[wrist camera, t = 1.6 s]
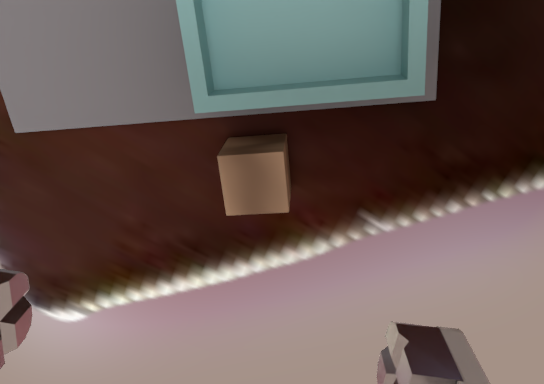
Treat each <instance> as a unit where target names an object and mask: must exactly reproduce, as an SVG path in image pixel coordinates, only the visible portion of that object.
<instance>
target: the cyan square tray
mask: <svg viewBox="0 0 544 384" xmlns="http://www.w3.org/2000/svg"><path fill="white" fill-rule="evenodd" d="M176 4H177V10H178V16H179V22H180V28H181V34H182V40H183V46H184V52H185V58H186V64H187V70H188V76H189V82H190V88H191V94H192V99H193V105H194V111H195V113H207V112H219V111H232V110H244V109H257V108H269V107H282V106H295V105H307V104H320V103H332V102H345V101H357V100H370V99H383V98H395V97H408V96H420V95H425V72H426V47H427V22H428V0H176Z"/></svg>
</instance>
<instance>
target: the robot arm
mask: <svg viewBox="0 0 544 384" xmlns="http://www.w3.org/2000/svg"><path fill="white" fill-rule="evenodd" d="M29 289H30V288H29V282H28V276H27V275H25V274H24V273H23V272H17V271H11V270H4V269H0V369H1V368H2V366H3V365H4V364H5V359H4V355H5V354H7V353H9V352H11V351H13V350H15V349H17V348H18V347H19V346H20V344H21V343H22V342H23V340H24V339H25V338H26V335H27V333H28V331H29V328H30V326H31V320H32V307H31V304H30V303H29V302H28V301H27V300H26V298H25V297H24V295H25V294H26V293H27V291H28V290H29ZM385 337H386V340H387V344H388V346H387V347H386V348H385V349H384V350H382V351H381V353H380V357H379V361H378V369H377V383H378V384H490V382H489V380H488V378H487V377H486V375H485V373H484V371H483V369H482V367H481V365H480V364H479V362H478V360H477V358H476V356H475V354H474V352H473V350H472V348H471V347H470V345H469V343H468V341H467V339H466V337H465V335H464V333H463V332H462V331H461V330H459V329H455V328H445V327H429V326H421V325H414V324H406V323H398V322H391V323H390V324H389V326H388V329H387V332H386V335H385Z"/></svg>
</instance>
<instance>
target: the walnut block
mask: <svg viewBox="0 0 544 384" xmlns="http://www.w3.org/2000/svg"><path fill="white" fill-rule="evenodd" d="M217 159H218V165H219V172H220V178H221V184H222V191H223V197H224V204H225V210H226V216H230V215H248V214H267V213H286V212H289V206H290V196H291V179H290V167H289V156H288V145H287V133H284V134H271V135H257V136H244V137H230V138H228V139H227V141H226V142H225V144H224V146H223V147H222V149H221V151H220V152H219V154H218V156H217Z"/></svg>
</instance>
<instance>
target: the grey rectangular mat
mask: <svg viewBox="0 0 544 384" xmlns="http://www.w3.org/2000/svg"><path fill="white" fill-rule="evenodd" d="M440 9H441V0H428V22H427V47H426V72H425V95H420V96H408V97H395V98H383V99H370V100H357V101H345V102H332V103H320V104H307V105H295V106H282V107H269V108H257V109H244V110H232V111H219V112H207V113H195V111H194V105H193V99H192V94H191V88H190V82H189V76H188V70H187V64H186V58H185V52H184V46H183V40H182V34H181V28H180V22H179V16H178V10H177V4H176V0H0V90H1V93H2V96H3V99H4V101H5V104H6V107H7V110H8V113H9V116H10V119H11V122H12V125H13V128H14V131H15V133H21V132H34V131H47V130H60V129H73V128H85V127H98V126H111V125H124V124H137V123H149V122H162V121H175V120H188V119H201V118H213V117H226V116H239V115H252V114H264V113H277V112H290V111H303V110H316V109H328V108H341V107H354V106H367V105H380V104H392V103H405V102H418V101H431V100H436V89H437V69H438V49H439V29H440Z"/></svg>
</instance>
